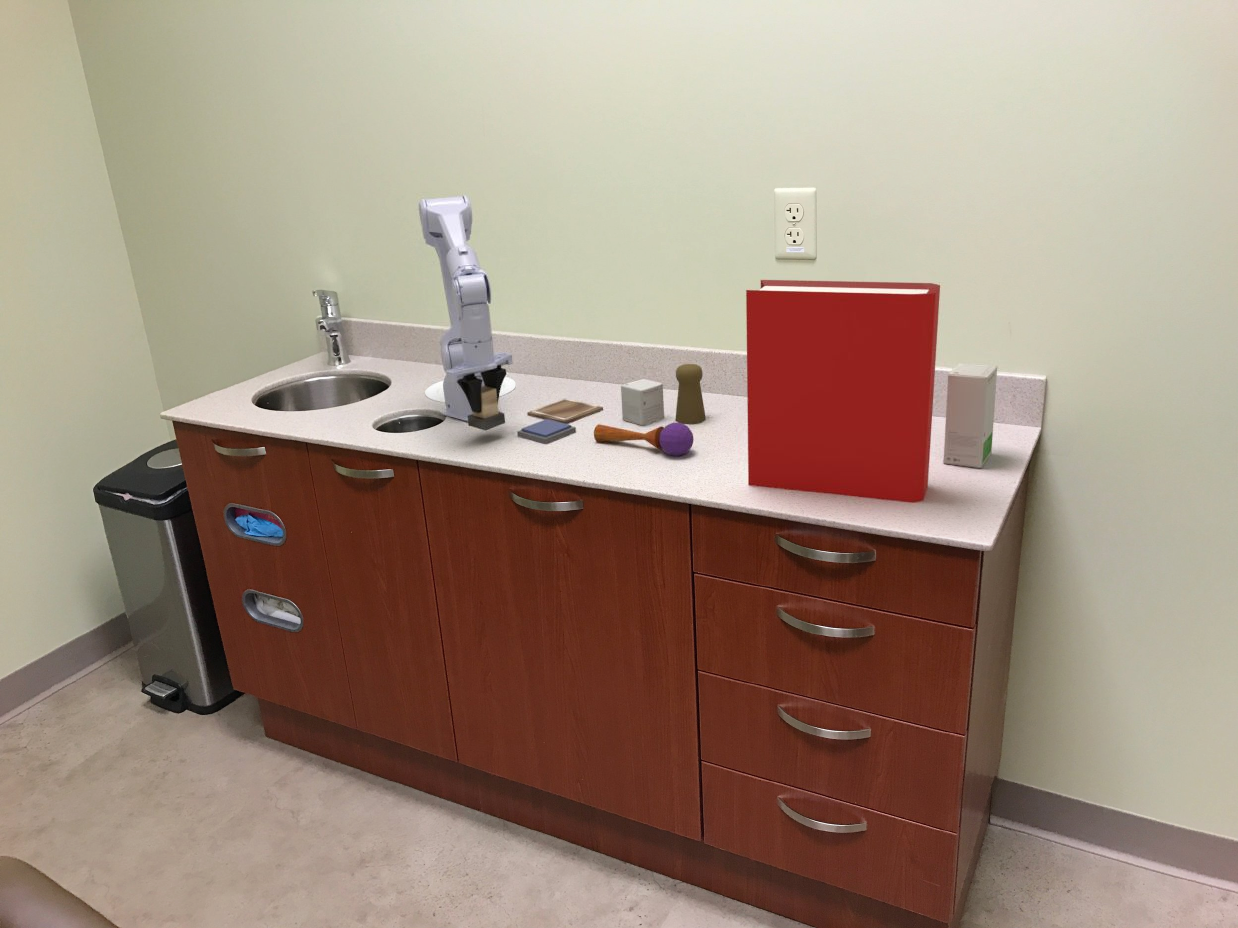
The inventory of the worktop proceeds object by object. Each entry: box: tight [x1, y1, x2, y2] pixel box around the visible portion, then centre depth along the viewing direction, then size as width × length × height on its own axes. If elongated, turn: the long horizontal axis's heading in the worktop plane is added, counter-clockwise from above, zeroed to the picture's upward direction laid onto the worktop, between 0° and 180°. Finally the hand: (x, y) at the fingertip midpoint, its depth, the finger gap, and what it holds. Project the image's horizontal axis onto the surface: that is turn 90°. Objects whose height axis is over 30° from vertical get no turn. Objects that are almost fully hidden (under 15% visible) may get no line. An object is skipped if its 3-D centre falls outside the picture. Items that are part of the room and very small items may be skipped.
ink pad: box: [516, 419, 577, 445], centre depth 186 cm, size 8×8×2 cm
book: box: [745, 279, 941, 504], centre depth 149 cm, size 27×8×32 cm, turn 66°
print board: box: [526, 398, 604, 424], centre depth 198 cm, size 11×11×1 cm
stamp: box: [467, 386, 506, 431], centre depth 184 cm, size 5×5×7 cm
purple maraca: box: [593, 422, 694, 457], centre depth 176 cm, size 6×6×20 cm
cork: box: [675, 363, 707, 425], centre depth 188 cm, size 6×6×11 cm
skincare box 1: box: [620, 378, 665, 426], centre depth 190 cm, size 6×6×7 cm
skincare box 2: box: [942, 362, 998, 469], centre depth 159 cm, size 8×7×16 cm
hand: (484, 408), depth 184 cm, fingers closed on stamp, 3 cm apart
